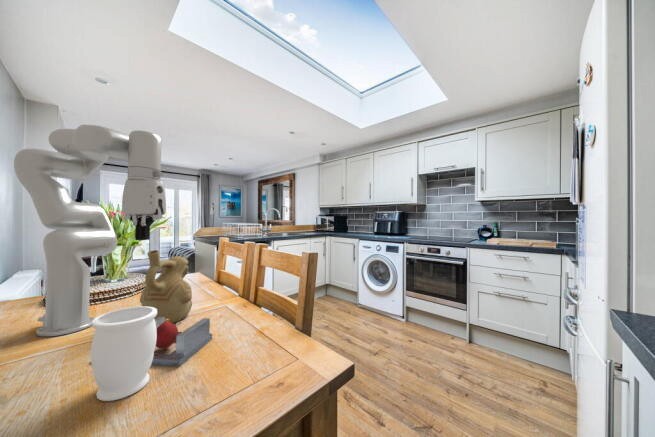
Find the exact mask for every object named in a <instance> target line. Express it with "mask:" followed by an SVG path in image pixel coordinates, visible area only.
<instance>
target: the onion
mask: <svg viewBox="0 0 655 437" xmlns="http://www.w3.org/2000/svg"><path fill="white" fill-rule="evenodd" d="M169 321H170V320H169V319H166V320H165V321H164V322H163V323H162V324H161V325H159V326H158V327H157V339H156V346H155V348H158V349H160V350H168V349H169V348H170V347H171V346H173V344H174V343H176V336H177V335H178V332H179V329H178V327H177V326H176V324H175V323H170V322H169Z"/></svg>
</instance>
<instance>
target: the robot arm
mask: <svg viewBox="0 0 655 437" xmlns="http://www.w3.org/2000/svg"><path fill="white" fill-rule="evenodd" d="M48 142H49V144H50V146H51V147H52V148H53V149H54V150H55V151H52V150H47V149H40V148H25V149H21V150H19V151H18V152H17V153H16V154H15V155H14V159H13V170H14V172H15V176H16V177H17V179H18V181H19V182H20V184H21V185H22V187H24V189H25V190H26V191H27V193H28V194H29V196H30V197H31V200H32V203H33V205H34V208H35V209H36V213H37V215H38V217H39V220H40V222H41V224H42V225H43V226H44V227H45V228H46V229H50V230H52V231H49V233H47V234H46V235H45V236H44V237H43V239H42V240H43V241H42V246H43V252H44V255H45V260H46V261H45V262H46V288H45V310H44V311H45V313H44V314H43V316H40V317H38V318H37V322H42V326H41V327H39V328H37V329H36V335H37V336H38V337H43V338H44V337H57V336H62V335H67V334H71V333H75V332H79V331H82V330H85V329H87V328H89V327H92V323H93V320H94V319H95V318H96V317H93V316H90V296H91V295H90V292H91V291H90V290H91V289H90V288H91V269H90V267H89V265H88V264H86V262H85V261H84V260H83V259H82V258H86V257H95V256H96V257H97V256H104V255H105V256H106V255H109V254H112V253H113V252H115V250H116V249H117V246H118V237H117V234H116V231H115V229H114V227H113V225H112V223H111V221H110V219H109V216H108V214H107V212H106V211H105V209H104V208H103V207H102V206H100V205H99V204H96V203H92V202H91V203H90V202H78V201H74V200H73V199H72V197H71V196H70V192H69V190H68V189H67V187H65V186H64V185H63V184H62V183H60V182H59V181H58V180H55V179H54V178H60V179H66V180H74V181H86V180H87V179H88V180H89V178H91V177H92V176H93V175H94V174H95V173H96V172H97V170H99V168H100V167H102V166H103V165H104V164H105V163H106V162H107V160H108V159H109V157H110V158H114V159H119V160H123V161H127V177H126V178H127V179H125V183H124V187H123V192H122V198H121V210H122V213H123V214H124V215H123V218H124V219H125V220H129V221H131V223H132V225H133V226H134V230H135V233H134V241H149V240H150V238H151V237H150V236H151V226H153V224H154V222H155V221H159V220H162V219H163V216H164V215H165V214H166V211H167V201H166V200H167V199H166V190H165V184H164V182H163V181H161V178H162V177H164V172H162V170H161V169H162V167H161V165H162V139H161V137H160V136H159V135H157V134H155V133H153V132H151V131H146V130H132V131H131V132H129V134H127V133H124V132H121V131H118V130H114V129H112V128H108V127H105V126H102V125H94V124H81V125H79V126H77V128H58V129H56V130H53V131H52V132H50V134H49V136H48ZM56 151H57V152H56Z"/></svg>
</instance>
